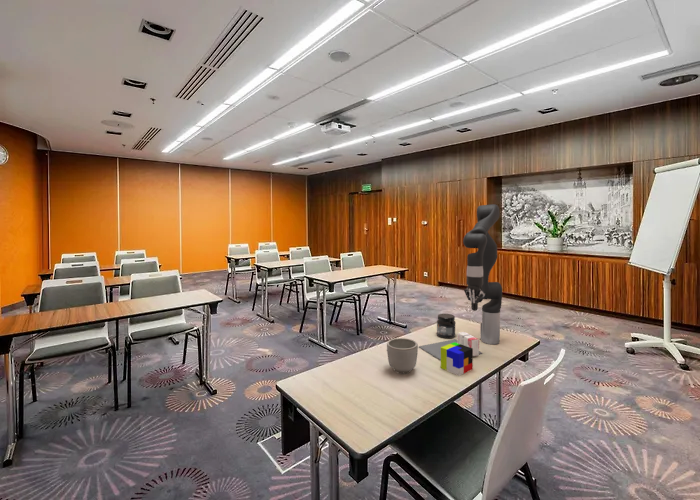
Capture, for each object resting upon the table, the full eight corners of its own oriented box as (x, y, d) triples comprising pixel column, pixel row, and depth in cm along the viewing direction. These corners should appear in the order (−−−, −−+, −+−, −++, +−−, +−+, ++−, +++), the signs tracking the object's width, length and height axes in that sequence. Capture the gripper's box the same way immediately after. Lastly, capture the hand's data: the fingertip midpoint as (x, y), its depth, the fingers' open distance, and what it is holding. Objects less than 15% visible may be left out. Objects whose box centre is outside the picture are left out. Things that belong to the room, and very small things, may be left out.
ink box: (479, 338, 169) (465, 331, 180) (470, 340, 167) (457, 332, 179) (479, 355, 169) (465, 347, 181) (470, 357, 168) (457, 348, 180)
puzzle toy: (458, 376, 151) (459, 354, 150) (440, 368, 159) (440, 347, 158) (472, 369, 156) (472, 348, 155) (454, 362, 165) (454, 342, 163)
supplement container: (451, 332, 205) (451, 312, 204) (458, 338, 195) (458, 318, 194) (434, 333, 205) (434, 313, 203) (440, 339, 194) (440, 318, 193)
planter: (381, 367, 160) (381, 340, 159) (406, 361, 166) (406, 335, 165) (397, 380, 148) (397, 351, 146) (424, 373, 153) (424, 345, 152)
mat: (418, 347, 184) (418, 346, 183) (455, 340, 192) (455, 339, 192) (443, 362, 164) (443, 361, 164) (482, 353, 173) (482, 352, 173)
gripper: (459, 273, 170) (459, 308, 171) (478, 277, 157) (478, 314, 159) (471, 272, 172) (471, 306, 174) (491, 276, 160) (490, 312, 162)
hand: (474, 310), depth 166 cm, fingers closed
